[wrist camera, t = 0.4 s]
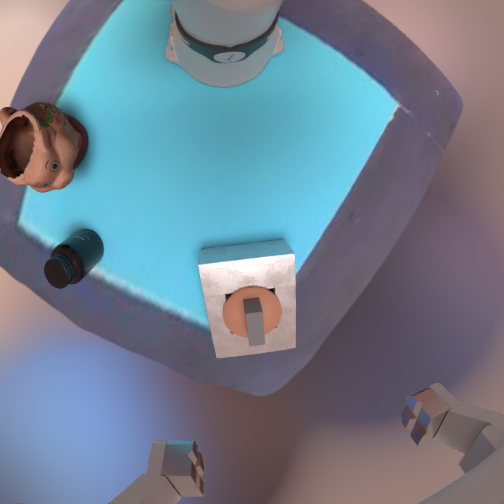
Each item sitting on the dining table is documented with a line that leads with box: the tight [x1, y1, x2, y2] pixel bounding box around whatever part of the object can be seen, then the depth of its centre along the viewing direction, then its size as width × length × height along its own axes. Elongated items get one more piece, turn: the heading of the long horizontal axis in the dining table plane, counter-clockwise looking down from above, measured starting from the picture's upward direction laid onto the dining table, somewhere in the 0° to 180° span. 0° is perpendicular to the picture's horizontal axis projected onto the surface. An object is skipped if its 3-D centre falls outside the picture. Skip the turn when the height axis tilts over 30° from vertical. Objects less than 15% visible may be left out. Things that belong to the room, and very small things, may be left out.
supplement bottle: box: [44, 230, 103, 289], centre depth 37 cm, size 7×7×12 cm
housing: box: [198, 239, 296, 358], centre depth 46 cm, size 18×14×7 cm
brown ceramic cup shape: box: [0, 102, 88, 193], centre depth 29 cm, size 20×12×14 cm, turn 49°
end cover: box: [223, 286, 282, 347], centre depth 43 cm, size 9×9×10 cm
